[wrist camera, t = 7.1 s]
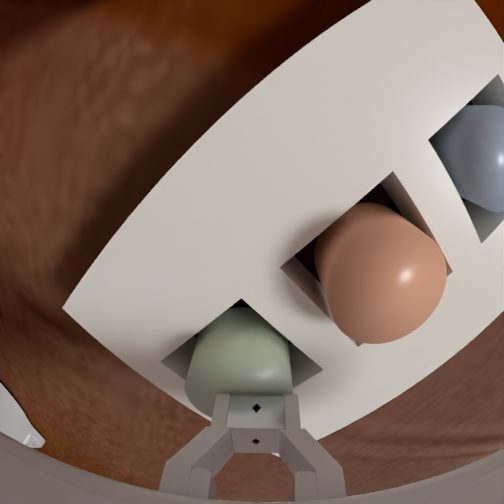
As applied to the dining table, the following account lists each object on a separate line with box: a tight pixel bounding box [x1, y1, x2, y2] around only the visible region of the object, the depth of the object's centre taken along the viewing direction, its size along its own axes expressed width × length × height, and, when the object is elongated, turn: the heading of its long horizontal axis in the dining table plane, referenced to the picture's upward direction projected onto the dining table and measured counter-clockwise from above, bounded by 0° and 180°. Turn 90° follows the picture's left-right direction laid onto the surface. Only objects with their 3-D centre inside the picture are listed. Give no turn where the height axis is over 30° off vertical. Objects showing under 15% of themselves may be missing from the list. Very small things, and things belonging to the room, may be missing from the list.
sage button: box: [185, 307, 293, 418], centre depth 12 cm, size 4×4×3 cm
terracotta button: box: [314, 202, 447, 344], centre depth 10 cm, size 4×4×3 cm
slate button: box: [428, 105, 504, 212], centre depth 9 cm, size 4×4×3 cm
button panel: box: [62, 0, 504, 457], centre depth 11 cm, size 21×14×3 cm
